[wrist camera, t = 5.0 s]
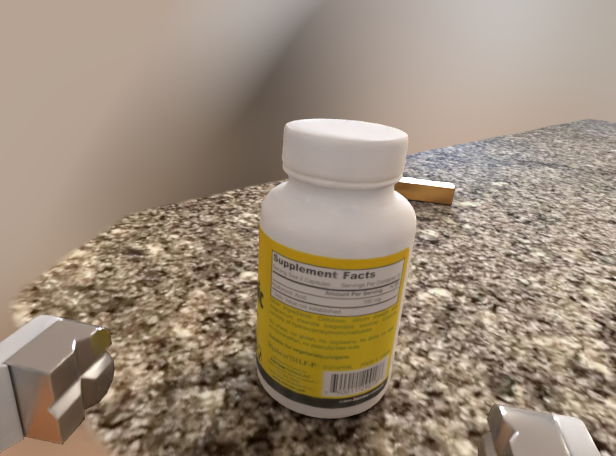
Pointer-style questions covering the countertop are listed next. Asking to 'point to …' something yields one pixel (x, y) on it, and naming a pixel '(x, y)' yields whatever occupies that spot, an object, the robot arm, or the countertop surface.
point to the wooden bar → (425, 190)
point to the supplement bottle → (333, 267)
